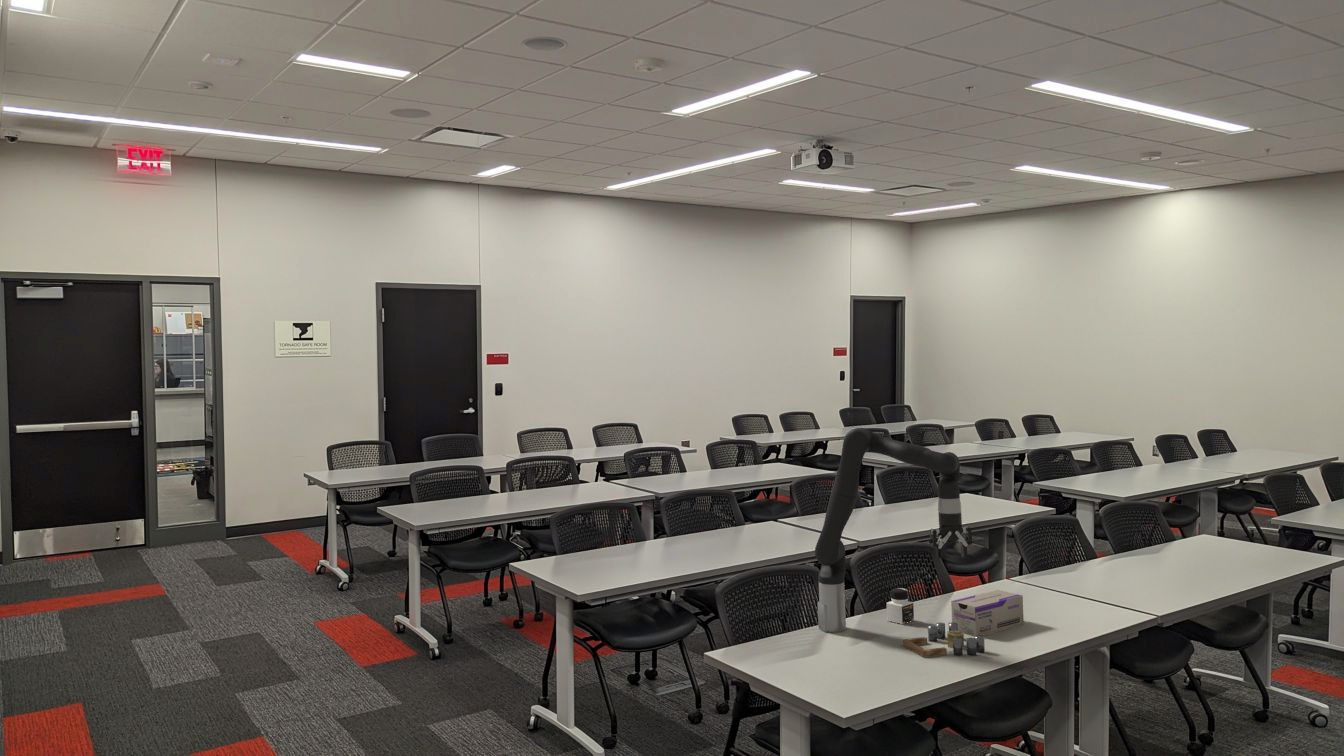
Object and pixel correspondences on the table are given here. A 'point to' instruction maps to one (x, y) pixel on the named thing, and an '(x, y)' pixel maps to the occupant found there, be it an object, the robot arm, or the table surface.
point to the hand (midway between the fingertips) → (952, 558)
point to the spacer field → (956, 639)
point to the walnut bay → (914, 647)
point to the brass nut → (954, 635)
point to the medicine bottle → (900, 607)
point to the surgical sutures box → (988, 612)
